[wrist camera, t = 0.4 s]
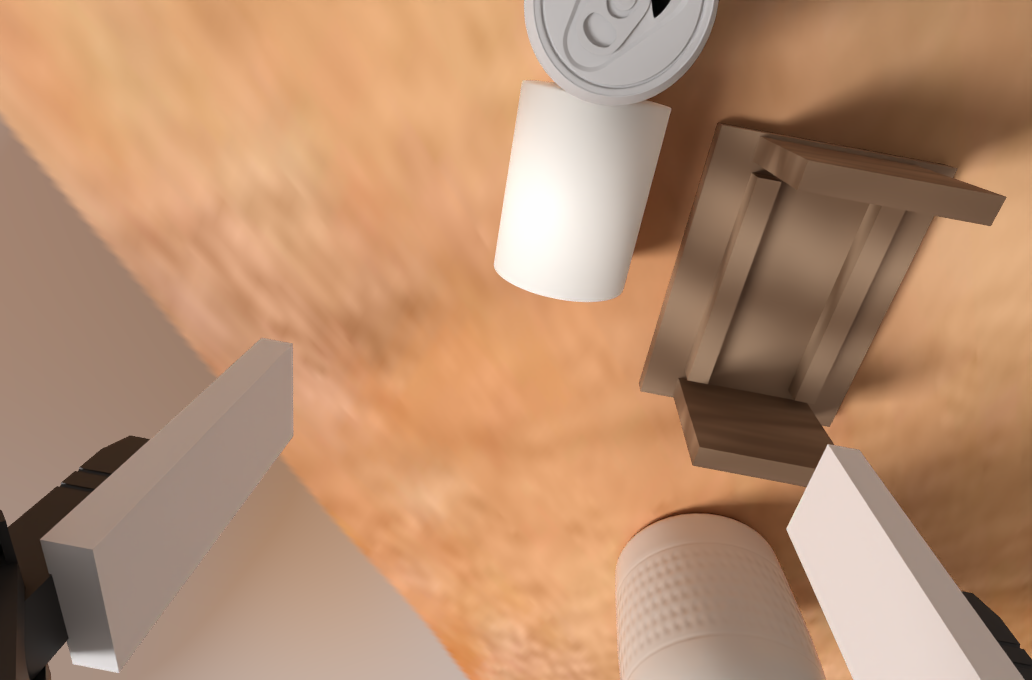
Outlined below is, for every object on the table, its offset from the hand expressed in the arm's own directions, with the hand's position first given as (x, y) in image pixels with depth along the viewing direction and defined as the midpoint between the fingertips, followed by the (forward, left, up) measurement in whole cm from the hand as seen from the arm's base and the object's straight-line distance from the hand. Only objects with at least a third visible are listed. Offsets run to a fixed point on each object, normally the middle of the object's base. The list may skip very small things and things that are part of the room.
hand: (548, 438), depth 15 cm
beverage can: (-10, 0, -22) cm, 24 cm away
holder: (+2, +13, -21) cm, 25 cm away
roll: (-2, 0, -21) cm, 21 cm away
